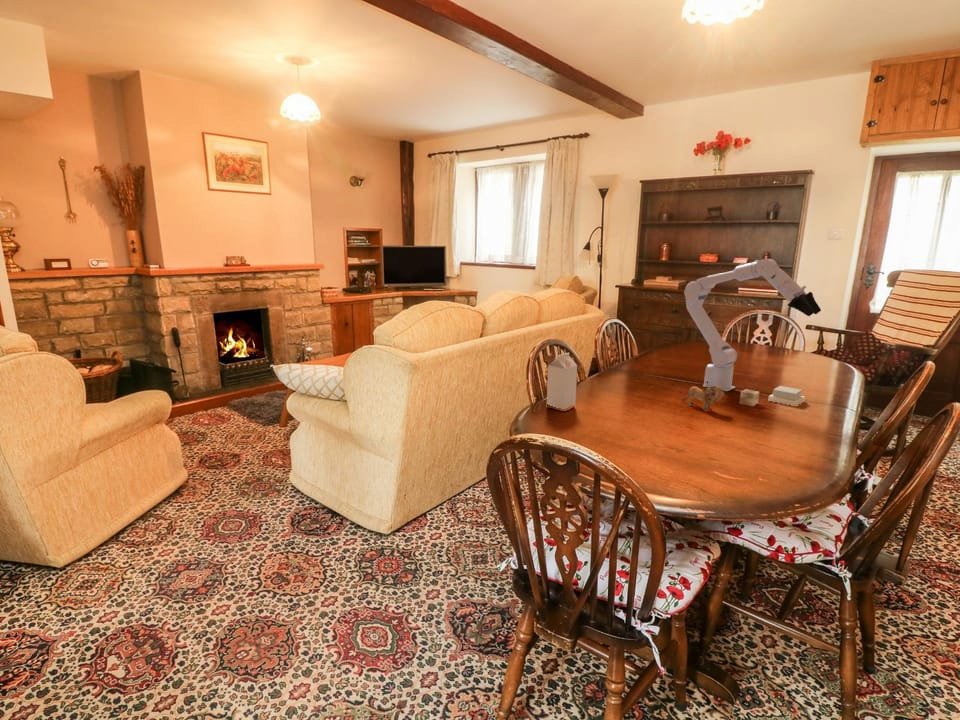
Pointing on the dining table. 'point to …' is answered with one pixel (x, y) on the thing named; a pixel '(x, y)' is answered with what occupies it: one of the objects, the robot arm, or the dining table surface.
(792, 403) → the bottom slab
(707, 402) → the lion figurine
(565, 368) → the milk carton
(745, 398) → the birch block
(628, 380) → the dining table surface
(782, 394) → the top slab
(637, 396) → the dining table surface
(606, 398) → the dining table surface
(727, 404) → the dining table surface
